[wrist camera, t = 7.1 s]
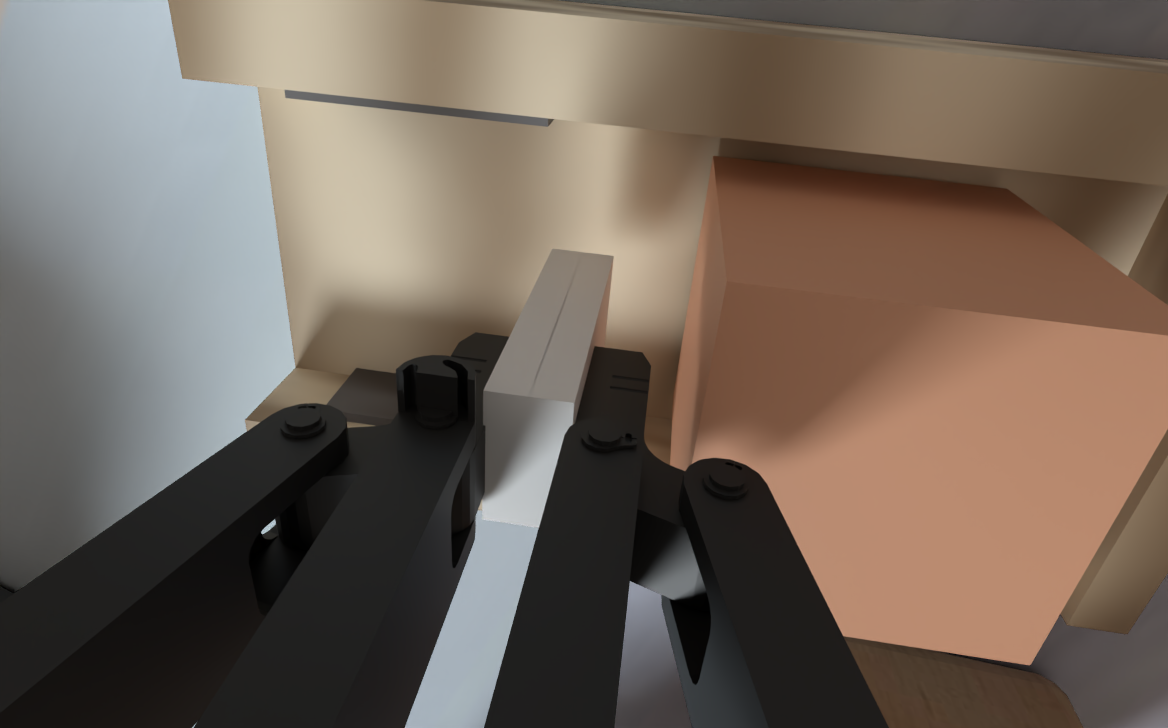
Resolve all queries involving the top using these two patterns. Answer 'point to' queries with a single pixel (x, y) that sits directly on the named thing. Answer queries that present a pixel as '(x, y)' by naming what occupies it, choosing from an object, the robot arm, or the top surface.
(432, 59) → the wooden tray
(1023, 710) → the wooden block
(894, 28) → the top surface
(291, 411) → the robot arm
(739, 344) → the terracotta block
